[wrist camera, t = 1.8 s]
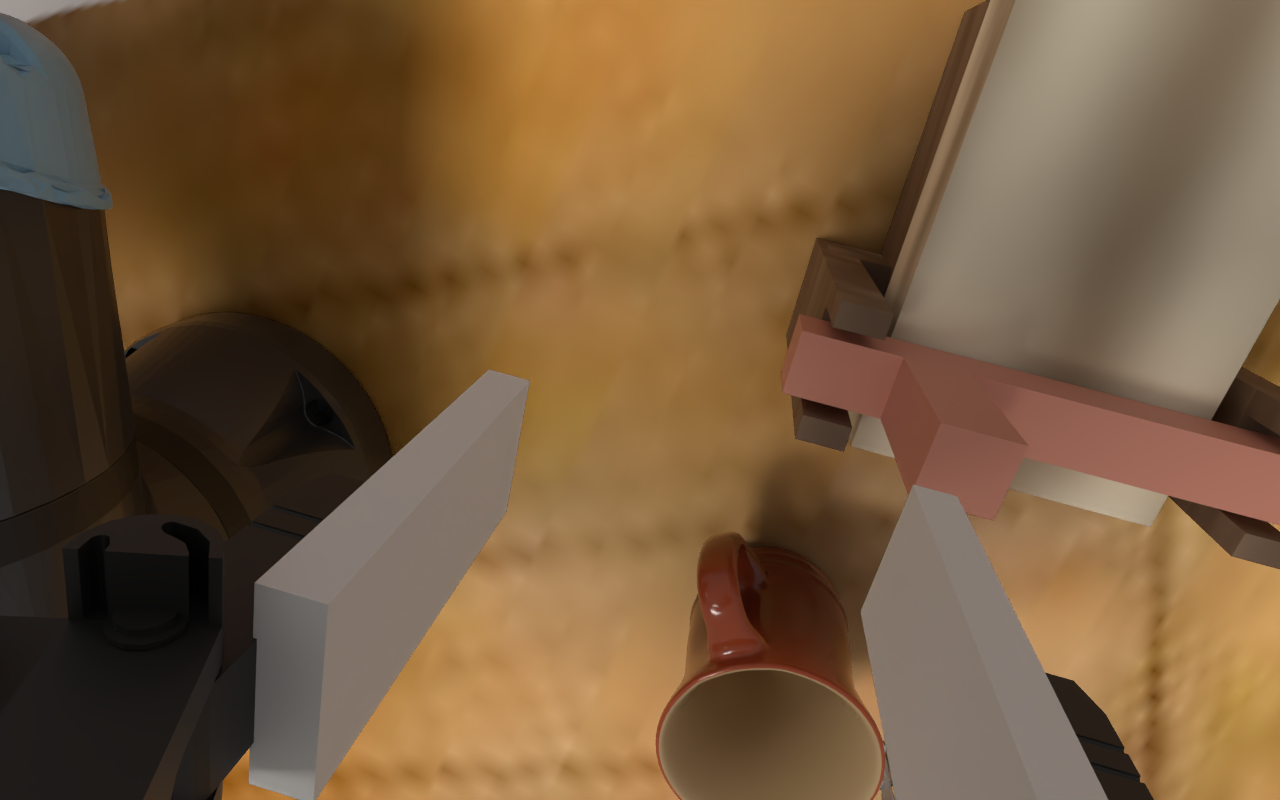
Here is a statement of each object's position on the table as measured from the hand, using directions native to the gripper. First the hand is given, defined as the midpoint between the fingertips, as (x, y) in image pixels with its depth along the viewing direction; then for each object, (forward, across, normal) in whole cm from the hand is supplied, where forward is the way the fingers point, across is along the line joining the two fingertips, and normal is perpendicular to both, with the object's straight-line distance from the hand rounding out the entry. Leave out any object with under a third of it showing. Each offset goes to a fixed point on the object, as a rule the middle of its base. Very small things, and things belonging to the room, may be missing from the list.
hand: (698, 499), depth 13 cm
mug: (+21, -5, +14) cm, 26 cm away
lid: (+15, -10, -4) cm, 19 cm away
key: (+12, -10, 0) cm, 15 cm away
